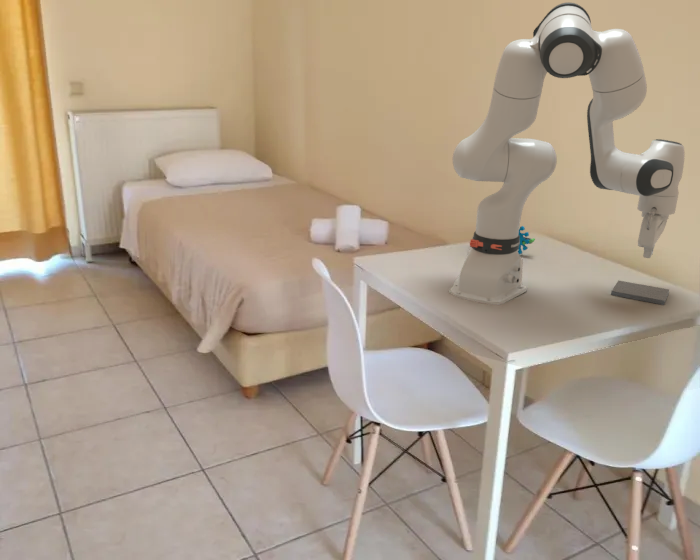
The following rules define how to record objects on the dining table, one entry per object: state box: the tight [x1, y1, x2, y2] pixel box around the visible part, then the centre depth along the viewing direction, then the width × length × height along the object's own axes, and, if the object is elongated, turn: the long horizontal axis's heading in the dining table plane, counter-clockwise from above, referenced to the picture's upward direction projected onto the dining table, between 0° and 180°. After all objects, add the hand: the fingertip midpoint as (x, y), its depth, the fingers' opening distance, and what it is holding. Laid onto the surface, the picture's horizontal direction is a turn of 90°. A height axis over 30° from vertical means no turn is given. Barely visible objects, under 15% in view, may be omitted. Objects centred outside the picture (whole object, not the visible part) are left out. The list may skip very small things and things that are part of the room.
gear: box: [518, 225, 536, 255], centre depth 208 cm, size 11×6×10 cm, turn 49°
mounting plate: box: [610, 279, 670, 306], centre depth 177 cm, size 10×13×1 cm
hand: (647, 256), depth 173 cm, fingers closed
